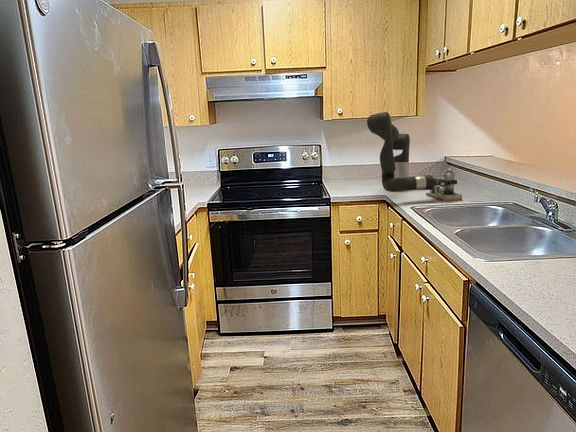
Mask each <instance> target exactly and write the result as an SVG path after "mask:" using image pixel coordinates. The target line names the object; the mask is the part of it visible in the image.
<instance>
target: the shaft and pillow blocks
mask: <svg viewBox="0 0 576 432" xmlns="http://www.w3.org/2000/svg"><path fill="white" fill-rule="evenodd" d="M429 193H435V194H436V195H437V193H444V186H442V187H441V186H434V187H433V189H432V190H429Z"/></svg>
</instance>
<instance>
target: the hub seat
mask: <svg viewBox="0 0 576 432" xmlns="http://www.w3.org/2000/svg"><path fill="white" fill-rule="evenodd" d="M437 197H439V198H442V199H457V198H462V199H463V194H461V193H459V192H458V193H457V192H455V191H454V194H453V195H445V194H444V193H437Z"/></svg>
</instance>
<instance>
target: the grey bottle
mask: <svg viewBox="0 0 576 432" xmlns="http://www.w3.org/2000/svg"><path fill="white" fill-rule="evenodd" d="M453 170H454V168H452V167H451V168H446V172H445V171H444V173H443V174H444V175H443V178H444V179H445V180H456V179H455V178H456V177H455V176H456V173H455V172H454V171H453ZM447 184H448V182H447ZM454 192H455V184H451V185H450V186H444V194H445V195H453V194H454Z"/></svg>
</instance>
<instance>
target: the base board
mask: <svg viewBox="0 0 576 432" xmlns="http://www.w3.org/2000/svg"><path fill="white" fill-rule="evenodd" d="M425 195H426V196H428V197H430V198H432V199H436V200H438V201H440V202H443V203H444V202H446V203H447V202H448V203H449V202H458V201H459V202H460V201H463V197H462V198H457V199H442V198H439V197H437V195H436V194H435V193H430V192H426V193H425Z"/></svg>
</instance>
